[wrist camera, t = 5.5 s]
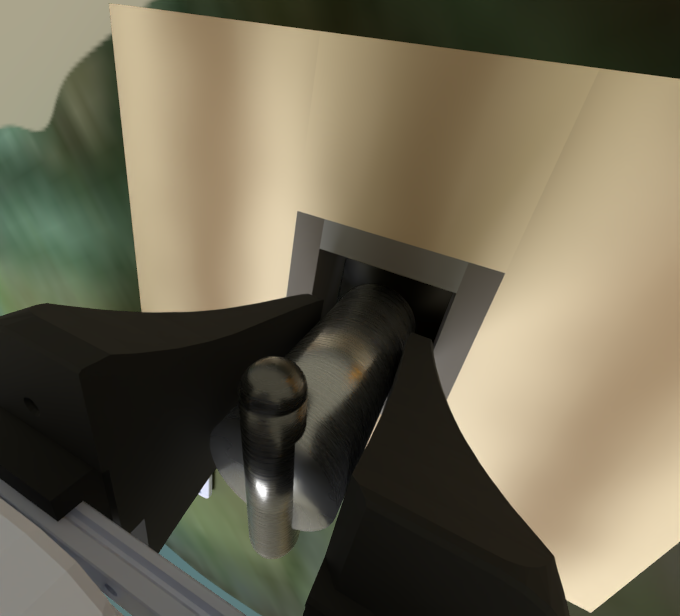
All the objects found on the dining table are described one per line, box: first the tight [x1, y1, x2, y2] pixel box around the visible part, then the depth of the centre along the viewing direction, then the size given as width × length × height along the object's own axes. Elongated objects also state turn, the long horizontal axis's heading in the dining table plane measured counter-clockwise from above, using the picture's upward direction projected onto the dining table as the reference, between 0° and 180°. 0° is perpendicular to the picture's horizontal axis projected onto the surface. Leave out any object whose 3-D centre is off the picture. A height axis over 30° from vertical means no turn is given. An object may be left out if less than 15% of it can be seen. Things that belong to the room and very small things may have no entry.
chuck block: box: [109, 3, 680, 613], centre depth 13 cm, size 22×16×3 cm
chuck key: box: [210, 284, 415, 559], centre depth 9 cm, size 3×6×7 cm, turn 174°
